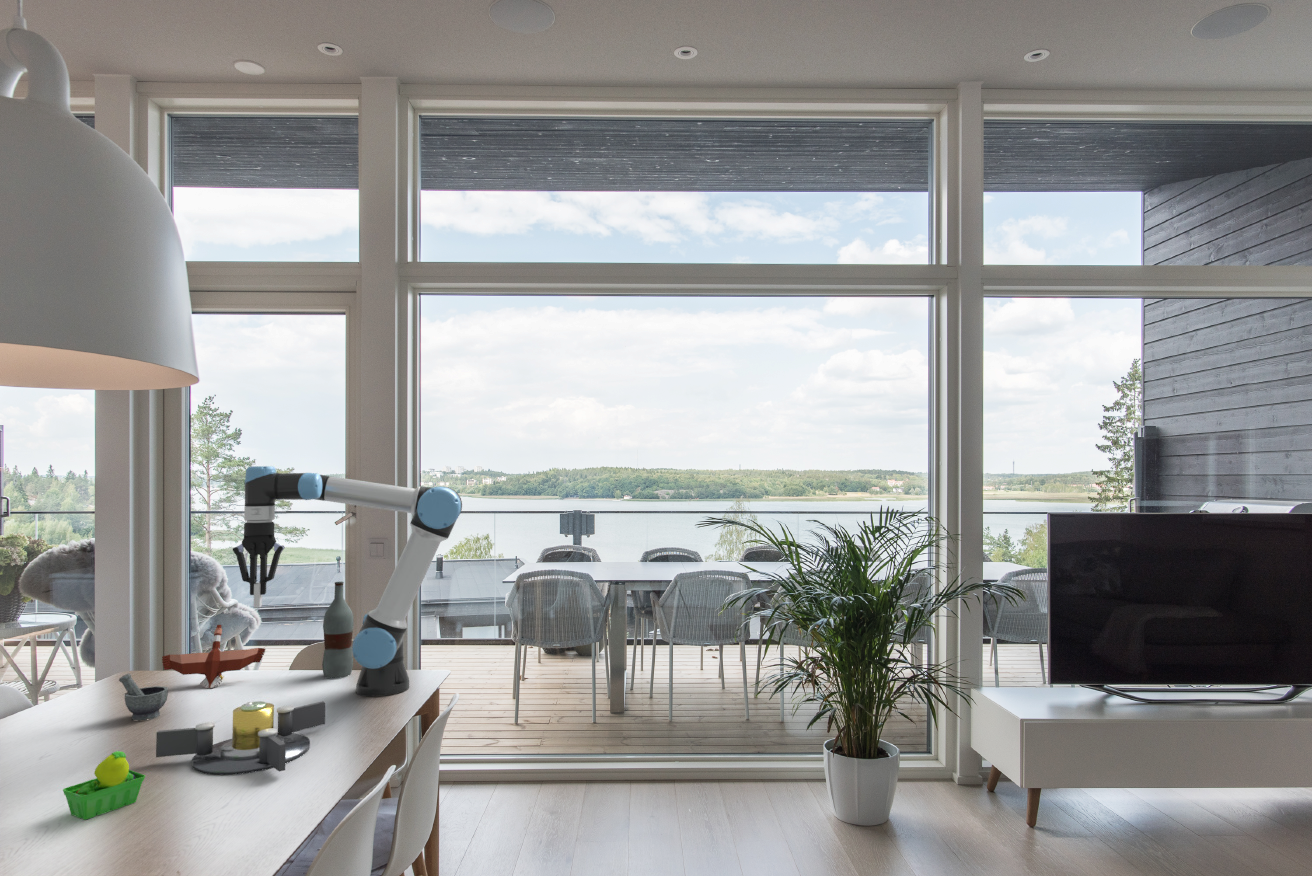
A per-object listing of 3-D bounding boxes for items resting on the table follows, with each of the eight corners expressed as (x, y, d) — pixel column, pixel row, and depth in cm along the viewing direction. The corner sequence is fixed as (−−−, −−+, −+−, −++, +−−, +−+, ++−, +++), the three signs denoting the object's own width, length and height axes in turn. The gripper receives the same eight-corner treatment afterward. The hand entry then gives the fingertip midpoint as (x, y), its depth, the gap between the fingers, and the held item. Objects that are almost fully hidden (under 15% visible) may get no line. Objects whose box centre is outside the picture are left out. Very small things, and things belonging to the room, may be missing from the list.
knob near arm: (279, 738, 180) (280, 711, 181) (273, 734, 183) (274, 708, 183) (327, 726, 189) (327, 700, 189) (320, 722, 192) (321, 697, 192)
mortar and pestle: (171, 709, 208) (172, 666, 208) (163, 720, 199) (164, 674, 199) (122, 715, 203) (123, 670, 204) (112, 725, 195) (114, 678, 195)
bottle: (350, 670, 249) (351, 579, 251) (355, 676, 242) (356, 582, 243) (319, 674, 245) (321, 581, 246) (324, 680, 237) (325, 584, 238)
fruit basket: (125, 793, 152) (126, 737, 153) (150, 802, 148) (151, 744, 149) (59, 816, 142) (61, 755, 143) (84, 826, 138) (86, 763, 139)
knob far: (216, 749, 173) (217, 721, 174) (211, 755, 170) (211, 726, 170) (160, 754, 170) (160, 726, 171) (153, 760, 167) (154, 731, 167)
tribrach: (318, 732, 188) (318, 683, 189) (298, 768, 165) (299, 712, 166) (211, 741, 182) (212, 691, 183) (175, 780, 159) (176, 722, 159)
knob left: (255, 760, 166) (255, 731, 167) (273, 755, 169) (273, 727, 169) (272, 774, 158) (273, 744, 159) (291, 769, 161) (292, 739, 161)
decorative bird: (270, 659, 250) (268, 620, 246) (262, 694, 234) (260, 654, 229) (171, 667, 241) (168, 627, 236) (156, 704, 224) (151, 662, 220)
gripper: (229, 522, 204) (227, 610, 202) (281, 521, 207) (280, 607, 206) (237, 521, 211) (235, 605, 210) (287, 520, 214) (286, 603, 213)
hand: (257, 606), depth 208 cm, fingers closed
